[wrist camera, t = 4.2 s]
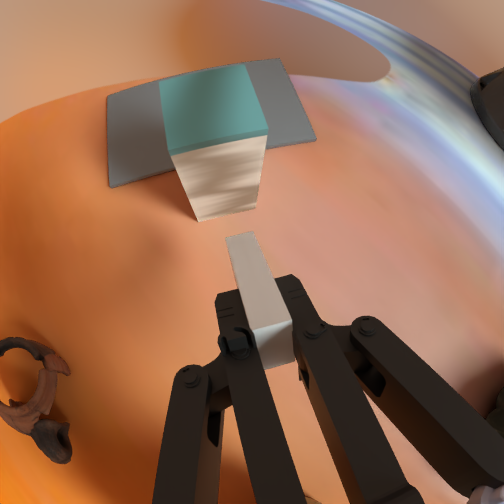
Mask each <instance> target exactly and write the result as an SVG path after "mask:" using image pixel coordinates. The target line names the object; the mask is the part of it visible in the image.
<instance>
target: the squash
mask: <svg viewBox="0 0 504 504" xmlns="http://www.w3.org/2000/svg"><path fill="white" fill-rule="evenodd" d="M486 421H487V422H488V423H489V424H490V425H491V426H492V427H493V428H494V429H495V430H496V431H497V432H498V433H499V434H500V435H501V436H502V438H503V439H504V387H503V389H502V390H501V392H500V393H499V395H498V397H497V400H496V409H495V410H493V411H492V412H490V413H489V415H488V416H487V418H486Z"/></svg>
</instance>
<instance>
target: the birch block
mask: <svg viewBox="0 0 504 504" xmlns="http://www.w3.org/2000/svg"><path fill="white" fill-rule="evenodd" d="M159 88H160V96H161V104H162V112H163V119H164V126H165V133H166V140H167V146H168V151H169V154H170V156H171V159H172V161H173V163H174V166H175V168H176V171H177V173H178V175H179V178H180V180H181V183H182V185H183V187H184V190H185V192H186V194H187V197H188V199H189V202H190V204H191V206H192V209H193V211H194V213H195V215H196V218H197V220H198V222H201V221H205V220H209V219H214V218H218V217H222V216H226V215H230V214H234V213H239V212H243V211H247V210H251V209H255V208H256V202H257V196H258V190H259V184H260V178H261V172H262V165H263V159H264V153H265V147H266V141H267V135H268V129H269V128H268V125H267V123H266V120H265V117H264V114H263V112H262V109H261V106H260V104H259V101H258V98H257V96H256V93H255V90H254V88H253V85H252V83H251V80H250V77H249V75H248V72H247V70H246V67H245V65H244V64H243V65H236V66H230V67H224V68H218V69H213V70H207V71H202V72H198V73H193V74H188V75H184V76H180V77H176V78H172V79H168V80H164V81H160V82H159Z"/></svg>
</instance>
